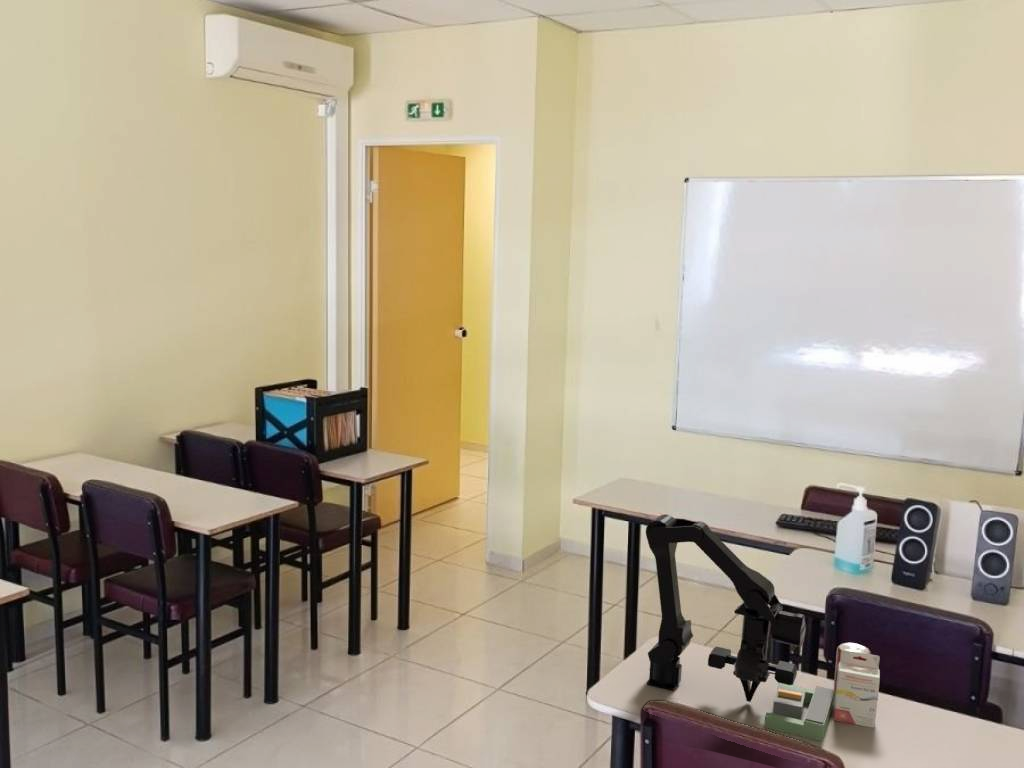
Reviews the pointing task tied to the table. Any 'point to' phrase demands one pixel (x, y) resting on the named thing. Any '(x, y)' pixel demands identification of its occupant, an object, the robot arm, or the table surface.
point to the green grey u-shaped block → (814, 717)
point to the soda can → (854, 648)
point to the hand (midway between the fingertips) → (749, 701)
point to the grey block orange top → (789, 702)
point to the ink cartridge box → (857, 689)
